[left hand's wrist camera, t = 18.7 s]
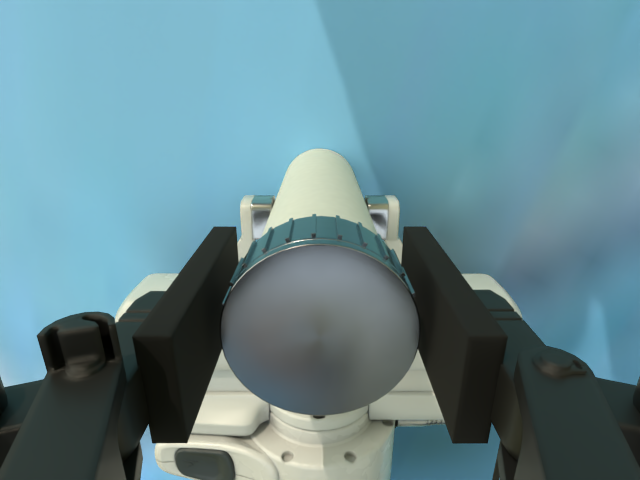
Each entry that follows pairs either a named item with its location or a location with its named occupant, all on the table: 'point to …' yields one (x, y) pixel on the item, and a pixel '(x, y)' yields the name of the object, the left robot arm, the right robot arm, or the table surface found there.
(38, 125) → the table surface
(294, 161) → the cream long cylinder
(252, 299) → the lid
